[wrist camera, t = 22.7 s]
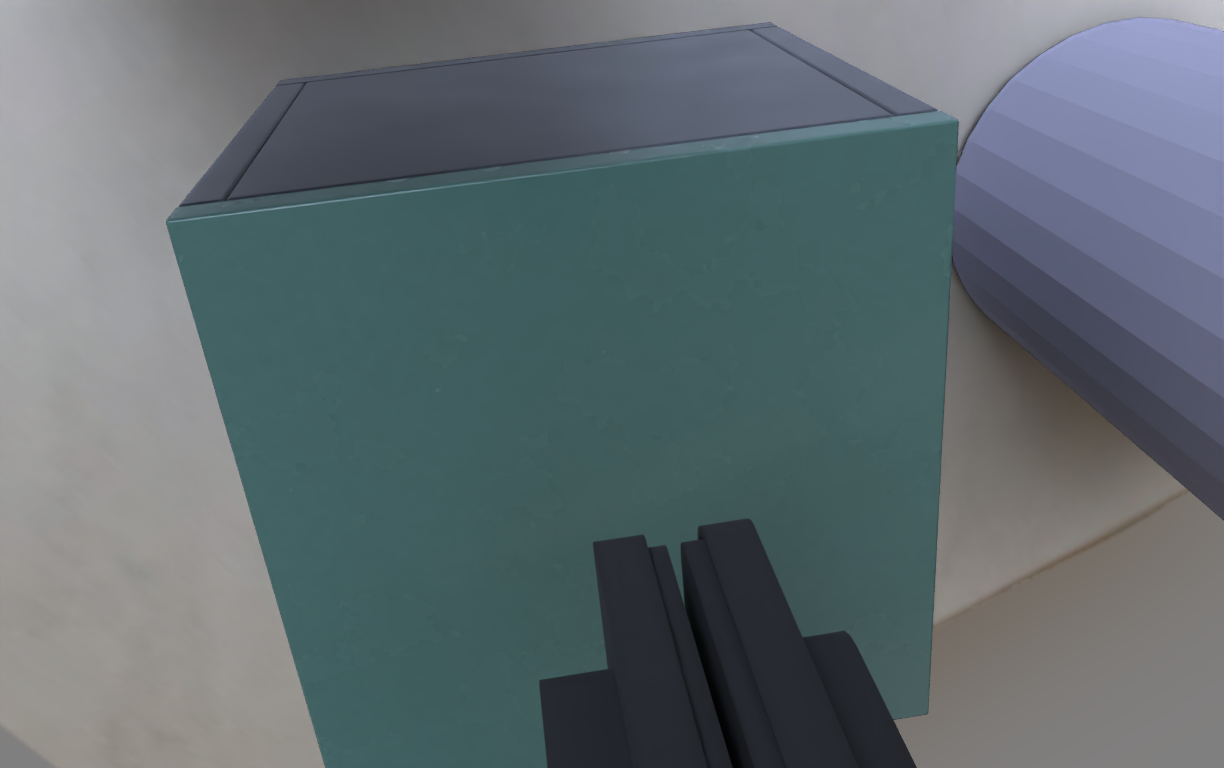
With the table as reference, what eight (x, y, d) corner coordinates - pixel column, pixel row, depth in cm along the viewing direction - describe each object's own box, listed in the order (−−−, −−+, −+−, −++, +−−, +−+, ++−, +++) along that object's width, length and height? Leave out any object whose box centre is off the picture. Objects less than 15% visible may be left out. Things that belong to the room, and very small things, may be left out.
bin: (782, 428, 36) (916, 664, 25) (372, 488, 35) (334, 760, 24) (771, 21, 30) (940, 109, 19) (278, 80, 29) (176, 205, 18)
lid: (916, 690, 26) (929, 715, 25) (341, 786, 25) (338, 814, 24) (941, 109, 19) (960, 119, 19) (175, 206, 18) (163, 220, 18)
